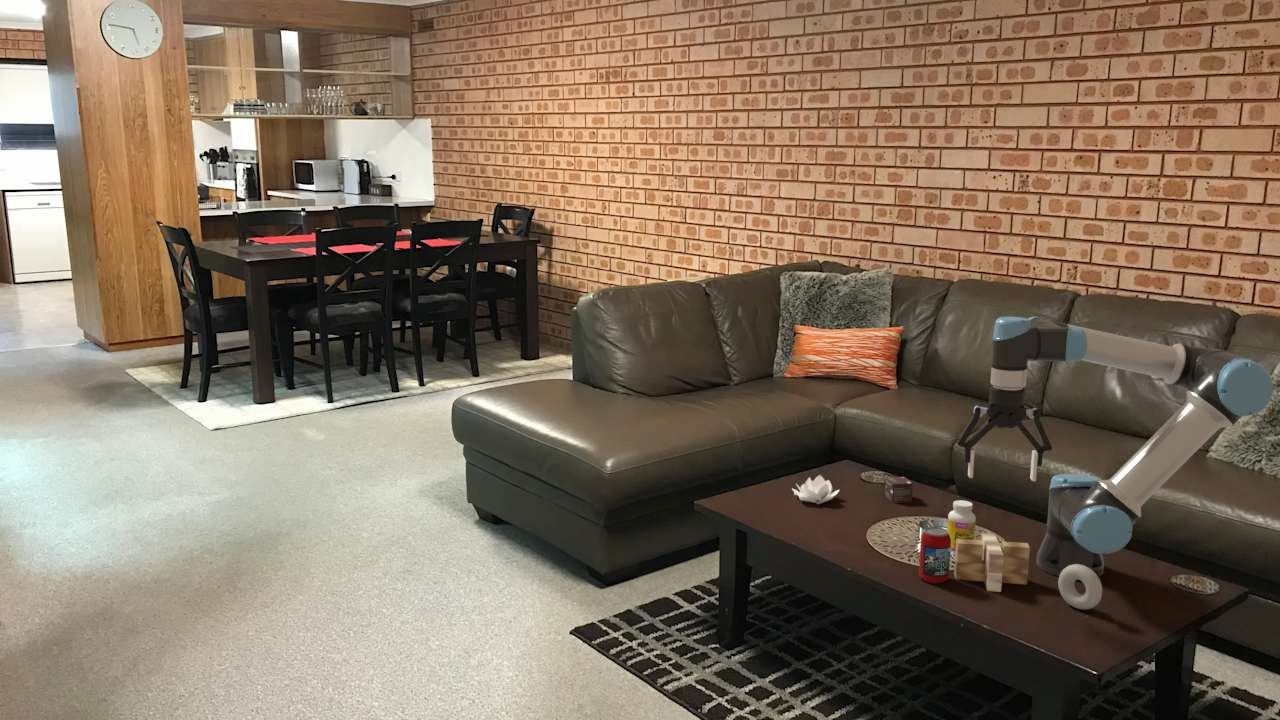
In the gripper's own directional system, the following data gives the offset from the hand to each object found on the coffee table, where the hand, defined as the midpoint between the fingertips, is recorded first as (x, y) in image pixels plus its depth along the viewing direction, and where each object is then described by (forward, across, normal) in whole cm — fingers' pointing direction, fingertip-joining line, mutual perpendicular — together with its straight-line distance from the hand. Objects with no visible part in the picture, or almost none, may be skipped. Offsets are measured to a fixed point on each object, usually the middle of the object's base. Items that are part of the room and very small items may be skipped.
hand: (1001, 478), depth 237 cm
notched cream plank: (+26, 0, -4) cm, 27 cm away
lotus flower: (+26, +41, -51) cm, 71 cm away
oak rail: (+26, 0, -4) cm, 27 cm away
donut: (+26, -17, +9) cm, 32 cm away
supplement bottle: (+26, +5, -22) cm, 35 cm away
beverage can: (+26, +13, -2) cm, 30 cm away
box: (+26, +18, -56) cm, 65 cm away
